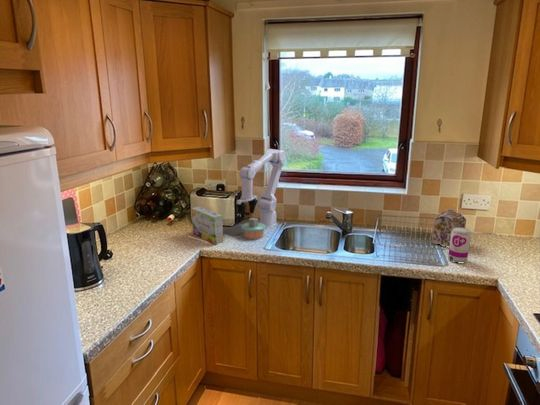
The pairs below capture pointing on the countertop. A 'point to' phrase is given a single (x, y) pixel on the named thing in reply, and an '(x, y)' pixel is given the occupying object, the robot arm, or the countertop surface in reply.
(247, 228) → the lid
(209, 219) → the snack box
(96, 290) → the countertop surface
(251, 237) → the bucket
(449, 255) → the supplement can
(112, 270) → the countertop surface
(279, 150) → the robot arm
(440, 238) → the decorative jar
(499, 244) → the countertop surface
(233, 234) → the mat
